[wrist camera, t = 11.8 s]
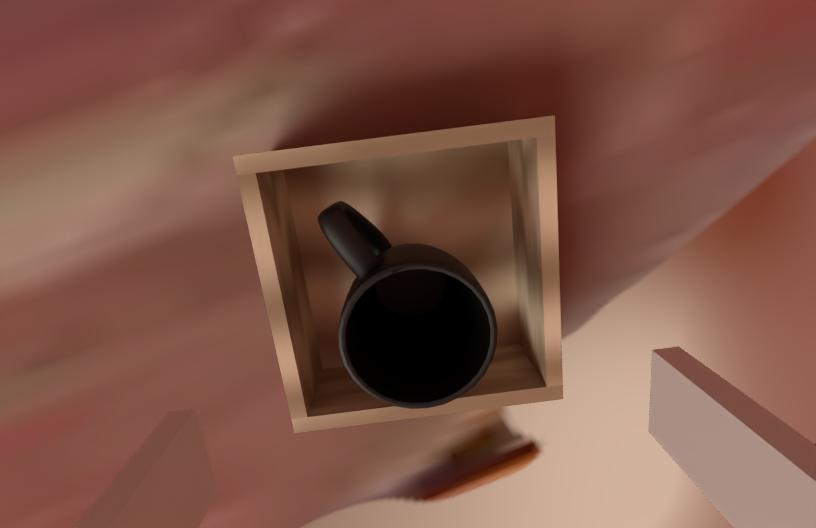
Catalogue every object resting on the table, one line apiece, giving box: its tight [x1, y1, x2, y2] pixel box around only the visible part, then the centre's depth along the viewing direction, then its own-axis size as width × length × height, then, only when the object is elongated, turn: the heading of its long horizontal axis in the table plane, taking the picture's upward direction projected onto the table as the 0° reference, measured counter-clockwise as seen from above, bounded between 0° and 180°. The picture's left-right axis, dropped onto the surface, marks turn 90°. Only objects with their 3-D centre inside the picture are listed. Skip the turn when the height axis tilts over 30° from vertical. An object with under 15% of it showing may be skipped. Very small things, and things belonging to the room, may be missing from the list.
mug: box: [317, 201, 498, 409], centre depth 26 cm, size 8×12×10 cm
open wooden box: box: [233, 115, 563, 433], centre depth 28 cm, size 17×17×7 cm
